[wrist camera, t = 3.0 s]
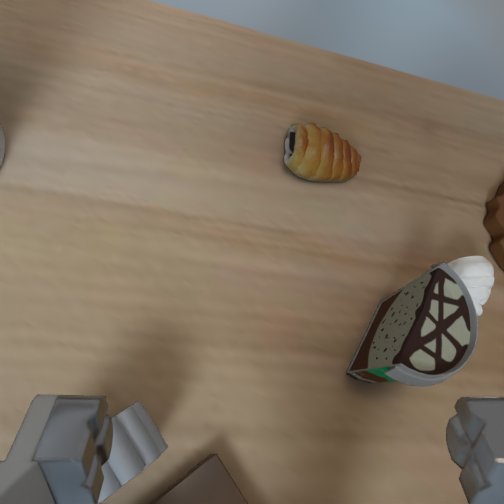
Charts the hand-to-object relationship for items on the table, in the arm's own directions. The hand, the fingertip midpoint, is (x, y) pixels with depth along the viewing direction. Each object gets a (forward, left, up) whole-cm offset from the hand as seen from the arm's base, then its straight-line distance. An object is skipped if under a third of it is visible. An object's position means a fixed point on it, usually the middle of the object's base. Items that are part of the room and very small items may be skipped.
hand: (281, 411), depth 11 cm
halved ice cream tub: (+21, +17, -32) cm, 42 cm away
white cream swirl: (+28, +27, -32) cm, 50 cm away
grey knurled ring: (-2, -2, -32) cm, 32 cm away
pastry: (+7, +35, -32) cm, 48 cm away
